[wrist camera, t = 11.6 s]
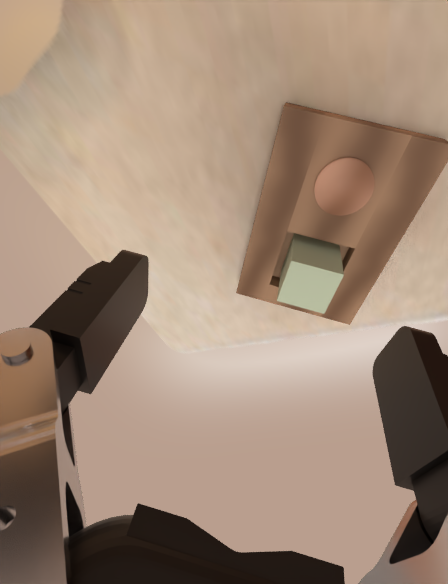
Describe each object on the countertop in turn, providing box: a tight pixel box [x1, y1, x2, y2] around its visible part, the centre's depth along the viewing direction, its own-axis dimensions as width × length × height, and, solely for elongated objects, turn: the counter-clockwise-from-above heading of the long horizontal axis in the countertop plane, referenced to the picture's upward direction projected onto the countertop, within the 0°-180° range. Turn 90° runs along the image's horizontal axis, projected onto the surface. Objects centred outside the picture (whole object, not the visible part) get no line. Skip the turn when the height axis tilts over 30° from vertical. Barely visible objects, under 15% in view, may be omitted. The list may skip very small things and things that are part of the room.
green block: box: [277, 233, 344, 314], centre depth 33 cm, size 5×5×6 cm
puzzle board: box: [236, 103, 448, 325], centre depth 32 cm, size 14×20×4 cm
